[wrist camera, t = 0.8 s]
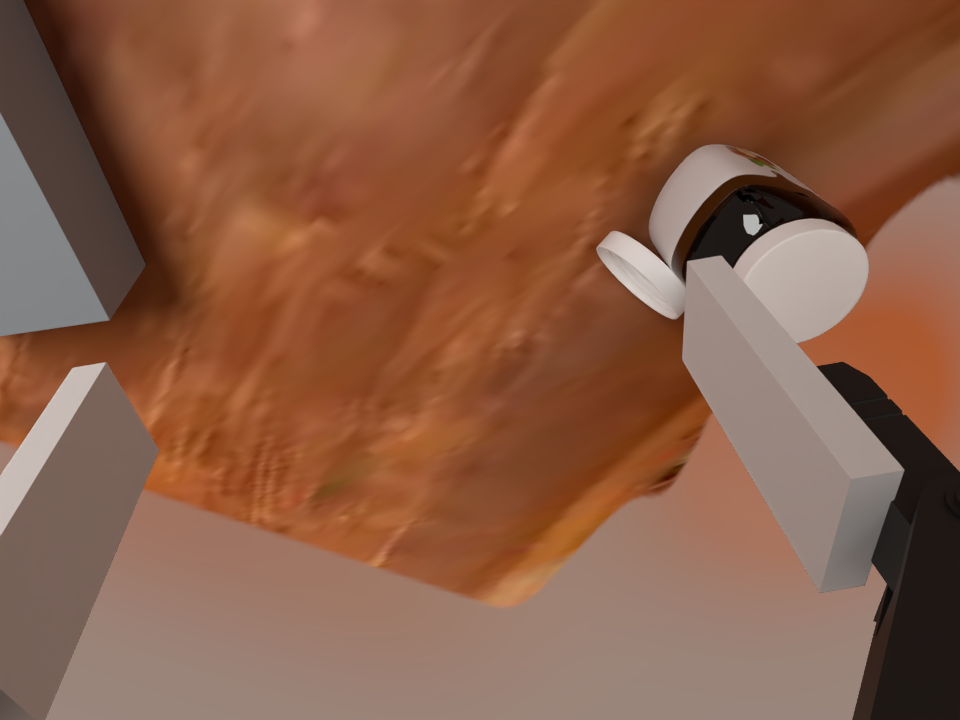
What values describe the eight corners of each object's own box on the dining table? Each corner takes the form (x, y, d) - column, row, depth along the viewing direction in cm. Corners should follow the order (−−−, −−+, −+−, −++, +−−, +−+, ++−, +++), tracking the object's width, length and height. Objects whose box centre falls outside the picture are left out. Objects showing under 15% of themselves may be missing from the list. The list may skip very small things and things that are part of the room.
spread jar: (811, 176, 43) (927, 259, 34) (711, 316, 49) (786, 420, 39) (658, 104, 39) (739, 174, 30) (568, 264, 45) (613, 365, 36)
